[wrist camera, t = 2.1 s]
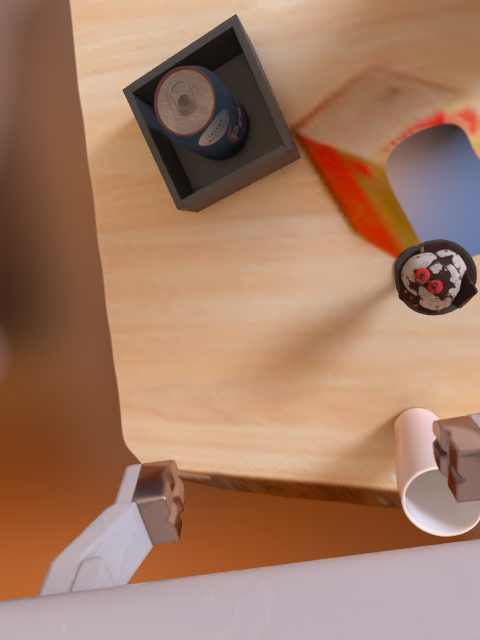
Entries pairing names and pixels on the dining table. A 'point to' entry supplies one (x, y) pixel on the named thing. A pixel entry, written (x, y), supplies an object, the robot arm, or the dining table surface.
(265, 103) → the tub
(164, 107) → the soda can
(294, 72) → the dining table surface
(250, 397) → the dining table surface
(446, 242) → the sundae
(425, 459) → the white tall cylinder
